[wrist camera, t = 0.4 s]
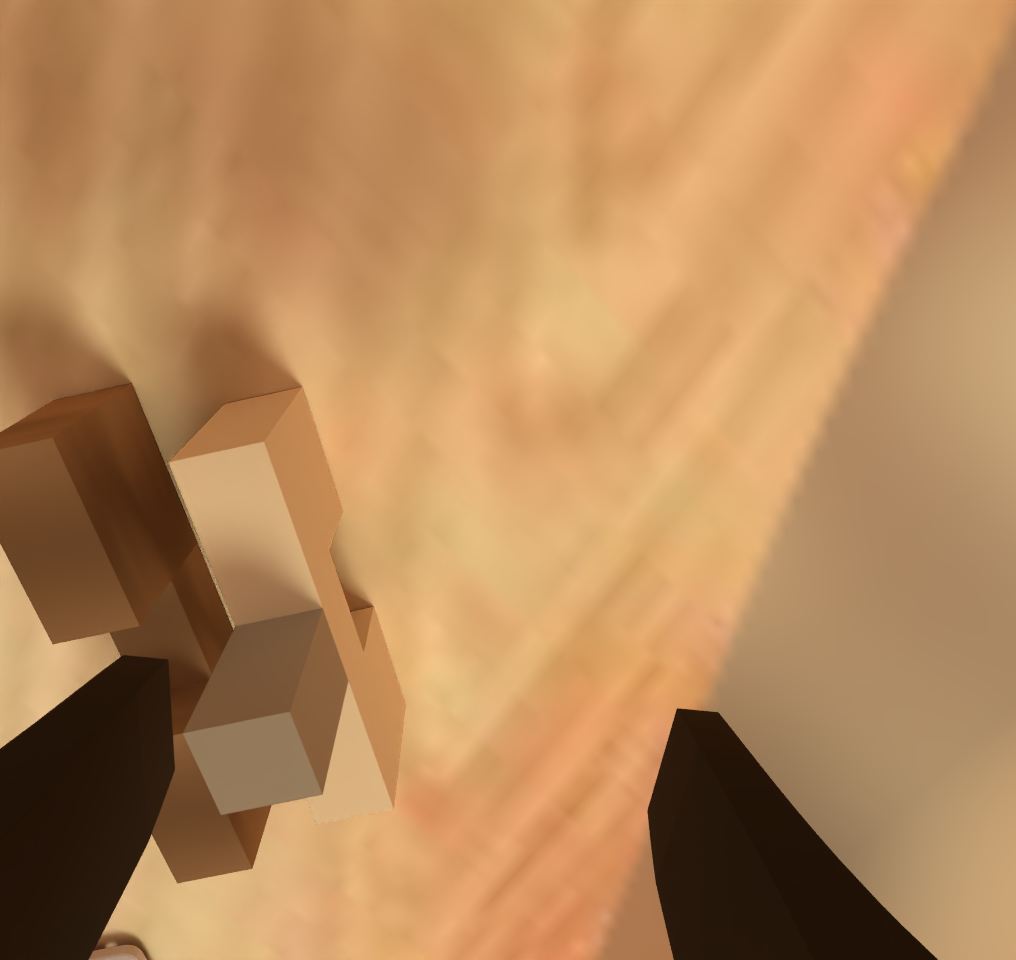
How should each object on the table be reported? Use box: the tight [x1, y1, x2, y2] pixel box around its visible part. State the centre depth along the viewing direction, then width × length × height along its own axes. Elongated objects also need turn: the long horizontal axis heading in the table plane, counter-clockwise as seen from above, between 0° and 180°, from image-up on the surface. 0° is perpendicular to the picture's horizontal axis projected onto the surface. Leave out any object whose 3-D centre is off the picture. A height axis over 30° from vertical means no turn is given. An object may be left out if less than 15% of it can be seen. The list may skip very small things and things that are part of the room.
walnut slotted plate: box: [0, 383, 271, 883], centre depth 20 cm, size 12×2×4 cm, turn 12°
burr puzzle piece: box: [168, 387, 405, 825], centre depth 18 cm, size 10×2×8 cm, turn 12°
